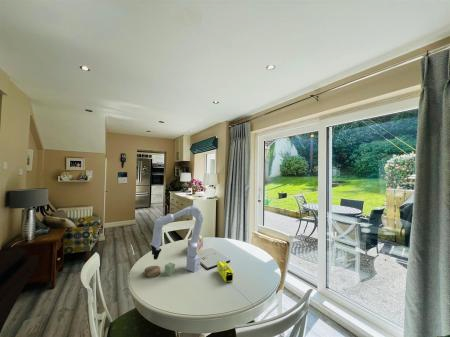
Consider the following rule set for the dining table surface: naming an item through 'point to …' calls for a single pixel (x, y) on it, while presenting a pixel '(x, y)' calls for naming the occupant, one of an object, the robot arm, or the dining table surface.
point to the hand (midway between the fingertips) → (154, 256)
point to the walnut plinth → (152, 271)
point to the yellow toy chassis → (225, 271)
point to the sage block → (169, 269)
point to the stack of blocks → (199, 243)
